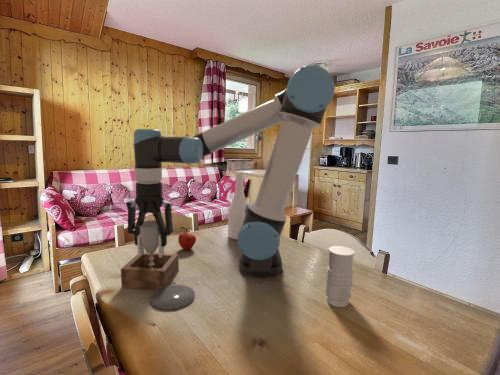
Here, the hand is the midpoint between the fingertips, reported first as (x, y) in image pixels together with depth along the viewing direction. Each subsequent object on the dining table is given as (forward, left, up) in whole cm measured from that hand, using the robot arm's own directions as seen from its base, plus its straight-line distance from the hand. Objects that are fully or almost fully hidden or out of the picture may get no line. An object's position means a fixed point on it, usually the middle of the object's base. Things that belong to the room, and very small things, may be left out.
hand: (151, 255), depth 89 cm
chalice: (0, 0, -8) cm, 8 cm away
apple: (-4, -25, -8) cm, 27 cm away
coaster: (-10, +10, -8) cm, 16 cm away
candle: (-56, +7, -8) cm, 57 cm away
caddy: (0, 0, -8) cm, 8 cm away
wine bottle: (-23, -43, -8) cm, 50 cm away
